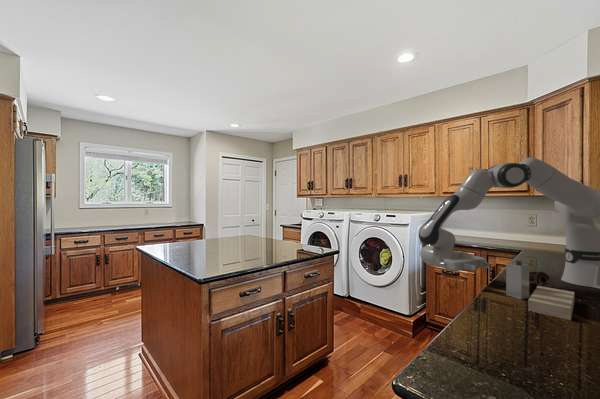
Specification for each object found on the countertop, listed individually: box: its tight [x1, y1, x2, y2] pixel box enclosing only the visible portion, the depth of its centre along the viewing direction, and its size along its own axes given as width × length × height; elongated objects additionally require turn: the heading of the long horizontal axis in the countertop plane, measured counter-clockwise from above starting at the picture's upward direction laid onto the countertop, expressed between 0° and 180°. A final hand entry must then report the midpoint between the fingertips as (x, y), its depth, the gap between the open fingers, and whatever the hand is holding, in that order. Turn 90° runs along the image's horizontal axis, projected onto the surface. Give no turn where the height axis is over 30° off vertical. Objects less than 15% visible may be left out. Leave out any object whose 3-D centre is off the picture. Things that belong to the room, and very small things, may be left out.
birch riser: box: [527, 286, 575, 321], centre depth 97 cm, size 22×10×4 cm, turn 135°
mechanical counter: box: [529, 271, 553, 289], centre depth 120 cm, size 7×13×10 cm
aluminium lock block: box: [505, 260, 530, 300], centre depth 107 cm, size 5×5×13 cm
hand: (483, 267), depth 118 cm, fingers open, 8 cm apart
